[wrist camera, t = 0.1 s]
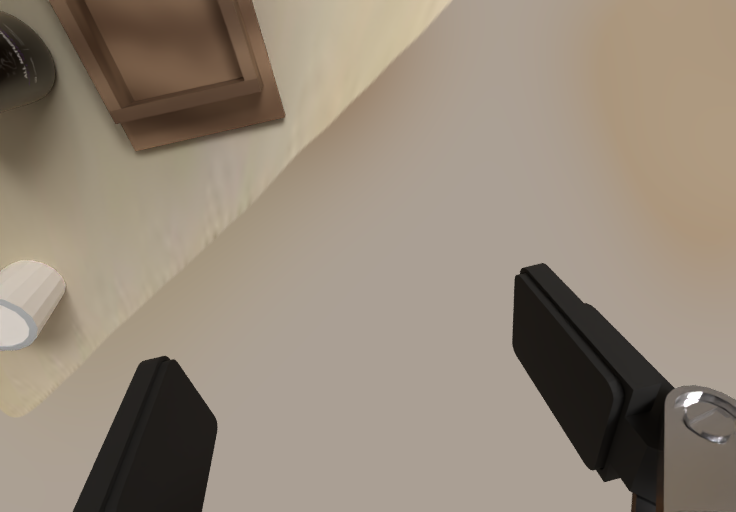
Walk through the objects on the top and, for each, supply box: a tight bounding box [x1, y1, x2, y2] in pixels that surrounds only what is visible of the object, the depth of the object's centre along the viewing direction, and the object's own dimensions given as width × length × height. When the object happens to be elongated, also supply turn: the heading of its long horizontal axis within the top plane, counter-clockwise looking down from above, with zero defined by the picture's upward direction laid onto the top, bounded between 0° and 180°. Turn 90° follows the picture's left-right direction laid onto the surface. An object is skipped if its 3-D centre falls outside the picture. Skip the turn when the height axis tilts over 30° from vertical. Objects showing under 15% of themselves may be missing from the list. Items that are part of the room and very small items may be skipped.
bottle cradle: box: [49, 0, 285, 151], centre depth 30 cm, size 18×14×4 cm
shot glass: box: [0, 260, 66, 351], centre depth 39 cm, size 7×7×7 cm
